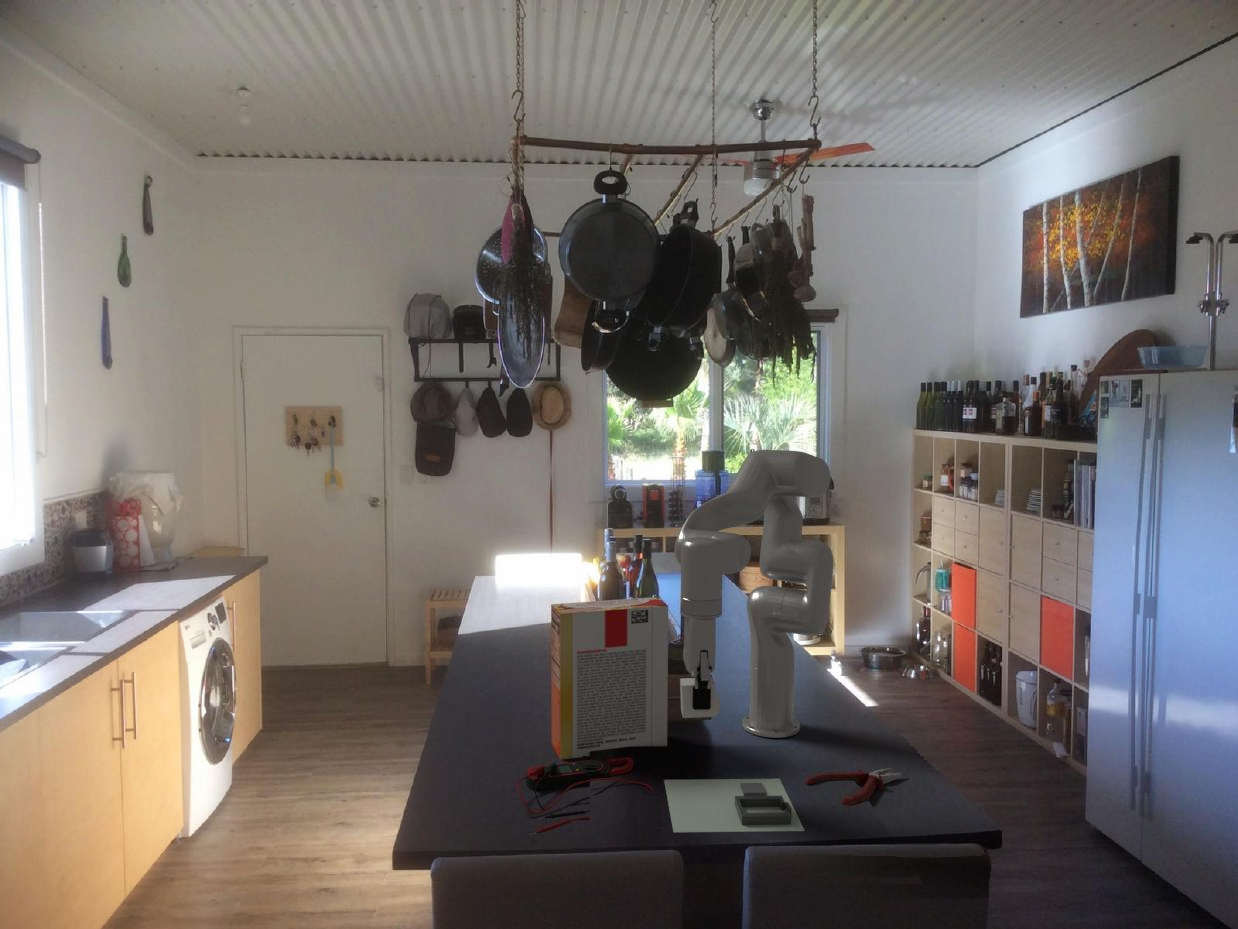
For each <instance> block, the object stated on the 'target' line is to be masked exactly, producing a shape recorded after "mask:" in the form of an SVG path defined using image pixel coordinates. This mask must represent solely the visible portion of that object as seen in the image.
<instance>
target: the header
mask: <svg viewBox="0 0 1238 929" xmlns="http://www.w3.org/2000/svg"><path fill="white" fill-rule="evenodd" d="M735 807H736V809H737V812H738V815H739V818H740V821H741V824H742V825H791V807H790V805H789V803H788V802H785V801H784V799H783V797H782V796H735ZM742 807H780V809H781V811H784V813H744V811H743V808H742Z"/></svg>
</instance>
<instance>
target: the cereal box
mask: <svg viewBox="0 0 1238 929" xmlns="http://www.w3.org/2000/svg"><path fill="white" fill-rule="evenodd" d="M550 609H551V610H550V619H551V621H550V626H551V628H550V631H551V632H550V634H551V635H550V636H551V638H550V640H551V641H550V646H551V648H550V649H551V650H550V651H551V652H550V654H551V660H550V661H551V668H550V669H551V672H550V677H551V679H550V683H551V686H550V687H551V698H550V699H551V700H550V702H551V705H550V706H551V713H550V714H551V722H550V724H551V726H550V727H551V732H550V733H551V746H552V748H553V749H554V751H555V753H556V754H557V756H558V758H559V760H560V761H561V760H570V759H577V758H584V757H583V756H586V757H590V756H591V752H593V751H594V752H595V751H604V750H611V749H613V750H614V749H619V748H627V747H668V700H669V699H668V692H669V690H668V686H669V685H668V684H669V683H668V682H669V680H668V679H669V678H668V677H669V675H668V674H669V672H668V671H669V666H668V665H669V605H668V604H666V603H665V602H663V601H662V600H661V599H659V598H657V597H655V596H654V597H653V596H652V597H651V596H650V597H637V598H626V599H625V598H624V599H609V600H596V601H594V600H593V601H579V602H567V603H566V602H565V603H552V604H550Z"/></svg>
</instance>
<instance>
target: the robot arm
mask: <svg viewBox="0 0 1238 929" xmlns="http://www.w3.org/2000/svg"><path fill="white" fill-rule="evenodd" d="M830 484H831V471H830V467H829V466H828V463H827V462H826V461H825V460H824V459H823V458H821V457H818V456H815V455H812V454H811V453H807V452H805V451H800V450H799V451H798V450H785V449H784V450H783V449H781V450H780V449H779V450H778V449H759V450H758V449H757V450H754V451H752V452H750V453H749V454H748V455H747V456H746V457H745V459H744V460H743V462H742V464H741V465H740V467H739V469H738V471H737V473H736V475H735V476H734V477H733V479H732V482H731V483H730V485H729V487H728V489H726V490H727V491H726V492H725V491H724V492H723V493H721V494H719V495H716V496H715V497H713V498H711V499H710V500H708V501H707V502H705V503H703V504H701V505H699V506H698V507H696V508H695V509H694V510H693V511H692V512H691V513H690V514H689V515H688V516H687V517H686V520H685V521H684V523H683V525H682V527H681V529H680V530H679V531H678V535H677V537H676V540H675V542H674V549H673V550H674V557H675V558H674V559H676V562H677V563H678V564H679V565H680V601H679V602H680V611H679V612H680V613H679V614H680V615H681V616H683V617H684V628H683V630H684V632H683V634H684V635H683V653H682V654H683V656H682V658H683V661H684V662H683V663H684V666H685V669H686V671H687V672H688V673H689V674H690V678H694V687H693V709H694V710H709V709H710V708H711V687H710V677H711V673H714V671H715V669H716V654H717V653H716V647H717V645H716V640H717V634H716V633H717V631H716V630H717V620H716V619H718V618H720V617H721V616H723V575H729V574H737V573H739V572H741V571H742V570H744V569H745V568H746V567H747V566H748V564H749V562H750V559H751V555H752V547H751V544H750V542H749V540H748V539H747V538H746V537H744V536H743V535H741V534H739V533H736V532H735V533H734V532H727V531H726V532H725V531H723V530H726V529H731V528H735V527H740V526H743V525H747V524H749V523H753V522H756V521H757V520H759V519H761V517H763V527H762V528H763V529H762V535H761V544H760V555H759V570H760V573H761V574H762V576H764V577H765V578H767V579H769V580H774V581H779V582H787V583H788V582H790V583H797V584H798V583H799V584H805V585H806V589H799V588H791V587H783V586H775V585H762V586H758V587H755V588H754V589H753V590H752V591H750V593H749V595H748V596H747V600H746V611H747V612H746V614H747V619H748V624H749V634H750V664H749V665H750V666H749V667H750V672H749V673H750V674H749V675H750V676H749V680H750V681H749V714H748V715H746V716H745V717H744V718H743V719H742V724H741V725H742V728H743V729H744V730H745V731H747V732H748V733H750V734H752V735H754V736H758V737H763V738H773V739H774V738H775V739H776V738H777V739H778V738H780V739H781V738H788V737H791V736H794V735H797V734H798V733H800V730H801V724H800V721H799V720H798V719H796V718H795V717H794V703H795V702H794V700H795V698H794V697H795V696H794V694H795V649H794V645H793V643H792V640H791V638H790V637H789V635H788V634H796V635H803V636H809V637H810V636H811V637H814V636H820V635H822V634H823V633H824V631H825V630H826V628H827V625H828V620H829V614H830V604H831V593H832V583H833V576H834V574H833V573H834V556H833V552H832V550H831V548H830V546H829V545H828V544H827V543H826V542H823V541H819V540H812V539H804V538H802V534H803V533H802V532H803V524H804V518H803V513H802V511H801V509H800V507H799V506H798V504H797V502H796V501H795V500H794V499H793V497H798V498H801V497H802V498H813V499H815V498H821V497H823V496H824V495H825V494H826V492H827V491H828V489H829V487H830Z"/></svg>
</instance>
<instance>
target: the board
mask: <svg viewBox="0 0 1238 929" xmlns="http://www.w3.org/2000/svg"><path fill="white" fill-rule="evenodd" d="M663 784H664V787H665V794H666V798H667V799H666V800H667V805H668V809H669V815H670V820H671V821H670V822H671V825H672V832H673V833H677V834H679V833H742V832H744V833H747V832H748V833H749V832H754V833H755V832H758V833H761V832H763V833H764V832H766V833H767V832H770V833H771V832H805V829H804V826H803V825H802V822H801V820H800V818H799V816H798V814H797V812H796V810H795V808H794V806H793V803H792V801H791V799H790V797H789V795H788V793H787V791H786V789H785V787H784V785H783V783H782V780H781V779H780V778H730V779H729V778H728V779H727V778H726V779H725V778H723V779H722V778H719V779H717V778H714V779H711V778H710V779H709V778H708V779H707V778H705V779H700V778H699V779H695V778H694V779H663ZM735 796H782V797H783V799H784V801H785V802H788V803H789V805H790V807H791V825H742V824H741V821H740V818H739V815H738V812H737V809H736V807H735ZM742 808H743V811H744V813H784V811H781V809H780V807H742Z"/></svg>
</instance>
